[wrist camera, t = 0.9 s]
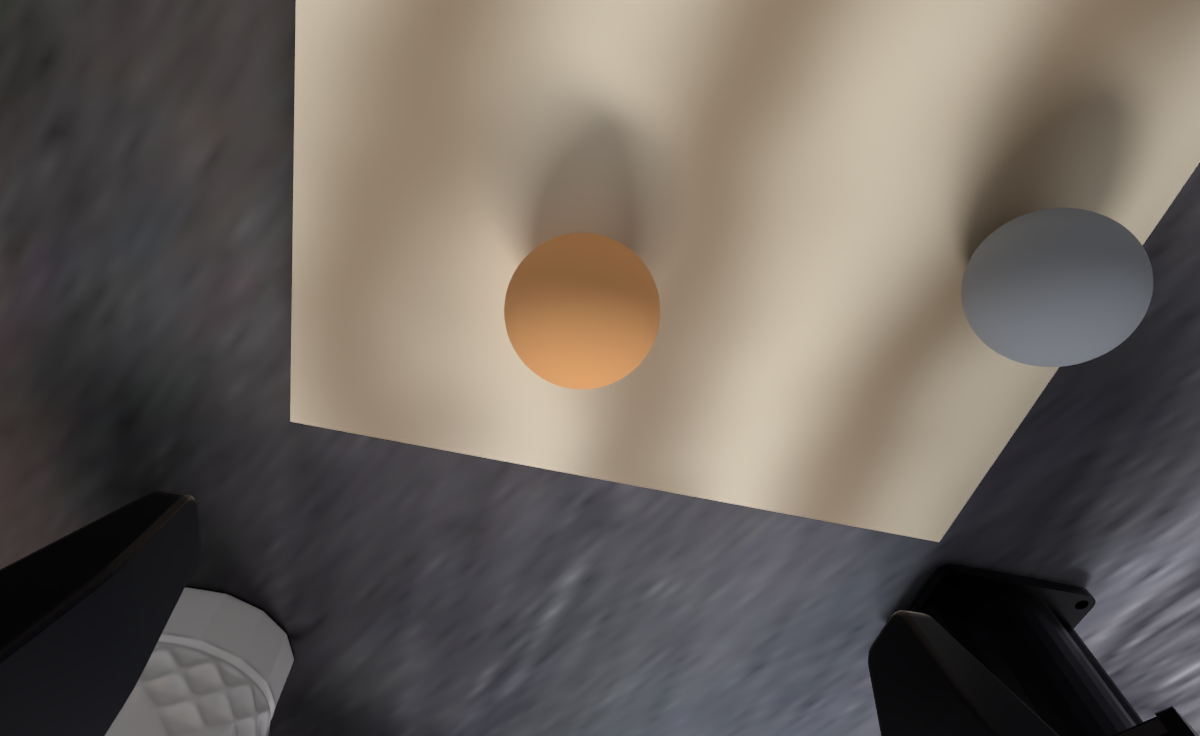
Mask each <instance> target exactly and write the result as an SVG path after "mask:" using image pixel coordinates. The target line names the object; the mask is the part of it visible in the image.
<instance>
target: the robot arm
mask: <svg viewBox="0 0 1200 736" xmlns="http://www.w3.org/2000/svg"><path fill="white" fill-rule="evenodd" d="M200 549H201V539H200V528H199V518H198V508H197V502H196V500H195V498H194V497H193V496H191V495H188V494H182V493H176V492H170V491H164V490H157V491H153V492H151V493H148V494H146V495H144V496H142V497H140V498H139V499H137V500H135V501H133V502H131V503H129V504H127V505H125V506H123V507H121V508H119V509H117V510H115V511H113V512H111V513H109V514H107V515H105V516H104V517H102V518H100V519H98V520H96V521H94V522H92V523H90V524H88V525H86V526H84V527H82V528H80V529H78V530H76V531H74V532H72V533H70V534H69V535H67V536H65V537H63V538H61V539H59V540H57V541H55V542H53V543H51V544H49V545H47V546H45V547H43V548H41V549H39V550H37V551H35V552H34V553H32V554H30V555H28V556H26V557H24V558H22V559H20V560H18V561H16V562H14V563H12V564H10V565H8V566H6V567H4V568H2V569H1V570H0V736H105V735H106V733H107V731H108V730H109V728H110V727H111V725H112V723H113V722H114V720H115V719H116V717H117V716H118V714H119V712H120V711H121V709H122V708H123V706H124V704H125V703H126V701H127V699H128V698H129V696H130V694H131V693H132V691H133V689H134V688H135V686H136V684H137V682H138V680H139V678H140V676H141V674H142V672H143V670H144V669H145V667H146V665H147V663H148V661H149V659H150V657H151V655H152V653H153V651H154V649H155V647H156V644H157V642H158V640H159V638H160V636H161V634H162V632H163V630H164V628H165V626H166V624H167V622H168V620H169V618H170V616H171V614H172V612H173V610H174V608H175V606H176V604H177V602H178V600H179V598H180V596H181V594H182V592H183V590H184V588H185V586H186V584H187V582H188V580H189V578H190V576H191V574H192V572H193V570H194V568H195V566H196V563H197V561H198V558H199V554H200ZM1094 605H1095V599H1094V598H1093V597H1092V595H1091V594H1090V593H1089V592H1088V591H1087V589H1084V588H1081V587H1075V586H1070V585H1064V584H1059V583H1053V582H1048V581H1042V580H1037V579H1031V578H1026V577H1020V576H1015V575H1009V574H1004V573H998V572H993V571H987V570H982V569H976V568H971V567H965V566H960V565H954V564H948V565H944V566H942V567H940V568H938V569H937V570H936V571H935V573H934V574H933V575H932V577H931V578H930V580H929V581H928V583H927V584H926V585H925V587H924V588H923V590H922V591H921V593H920V594H919V595H918V597H917V598H916V600H915V601H914V603H913V604H912V605H911V607H910V608H909V610H908V611H905V610H899V611H897V612H895V613H893V615H892V616H891V617H890V619H889V620H888V622H887V623H886V625H885V626H884V628H883V629H882V631H881V632H880V634H879V635H878V637H877V638H876V640H875V641H874V643H873V644H872V646H871V648H870V651H869V657H868V665H869V672H870V677H871V682H872V688H873V693H874V699H875V704H876V710H877V715H878V720H879V726H880V731H881V736H1199V735H1198V734H1197V733H1196V732H1195V731H1194V729H1193V728H1192V727H1191V726H1190V725H1189V724H1188V723H1187V722H1186V721H1185V719H1184V718H1183V717H1182V716H1181V715H1180V714H1179V713H1178V712H1177V711H1176V710H1175V708H1174V707H1173V706H1171V707H1168V708H1166V709H1164V710H1161V711H1159V712H1157V713H1155V714H1156V716H1157V717H1154V718H1152V719H1150V720H1147V721H1145V722H1143V721H1142V720H1141V718H1140V717H1139V716H1138V714H1137V713H1136V712H1135V710H1134V709H1133V708H1132V706H1131V705H1130V704H1129V702H1128V701H1127V700H1126V698H1125V697H1124V696H1123V694H1122V693H1121V692H1120V690H1119V689H1118V688H1117V686H1116V685H1115V684H1114V682H1113V681H1112V680H1111V678H1110V677H1109V676H1108V674H1107V673H1106V672H1105V670H1104V669H1103V668H1102V666H1101V665H1100V664H1099V662H1098V661H1097V660H1096V658H1095V657H1094V656H1093V654H1092V653H1091V652H1090V650H1089V649H1088V648H1087V646H1086V645H1085V644H1084V642H1083V641H1082V640H1081V638H1080V637H1079V636H1078V634H1077V633H1076V632H1075V630H1074V628H1075V626H1076V625H1077V624H1078V623H1079V622H1080V621H1081V620H1082V619H1083V618H1084V616H1085V615H1086V614H1087V613H1088V612H1089V611H1090V610H1091V609H1092V608H1093V606H1094Z"/></svg>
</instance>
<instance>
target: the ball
mask: <svg viewBox="0 0 1200 736" xmlns="http://www.w3.org/2000/svg"><path fill="white" fill-rule="evenodd" d="M504 319H505V324H506V330H507V334H508V337H509V340H510V342H511V344H512V346H513V348H514V350H515V352H516V353H517V355H518V356H519V358H520V359H521V360H522V361H523V363H524V364H525V365H526V366H527V367H528V368H529V369H531V370H532V371H533V372H534V373H535V374H537V375H538V376H540V377H541V378H542V379H544V380H546V381H548V382H550V383H553V384H555V385H558V386H561V387H565V388H571V389H595V388H600V387H604V386H607V385H610V384H612V383H614V382H617V381H619V380H620V379H622V378H624V377H625V376H627V375H628V374H629V373H631V372H632V371H633V370H635V369H636V368H637V367H638V366H639V365H640V364H641V362H642V361H643V360H644V358H645V357H646V356H647V354H648V353H649V351H650V349H651V347H652V346H653V343H654V341H655V338H656V336H657V332H658V328H659V324H660V299H659V294H658V290H657V287H656V284H655V281H654V279H653V277H652V275H651V273H650V271H649V269H648V268H647V267H646V265H645V264H644V262H643V261H642V260H641V259H640V258H639V257H638V256H637V255H636V254H635V253H634V252H633V251H632V250H630V249H629V248H628V247H627V246H625V245H623V244H622V243H620V242H618V241H616V240H614V239H612V238H609V237H606V236H603V235H599V234H593V233H570V234H566V235H561V236H558V237H555V238H552V239H550V240H548V241H546V242H544V243H542V244H541V245H539V246H538V247H536V248H535V249H534V250H533V251H532V252H530V253H529V254H528V255H527V256H526V257H525V258H524V259H523V260H522V262H521V263H520V264H519V265H518V267H517V269H516V270H515V272H514V274H513V276H512V278H511V280H510V283H509V285H508V288H507V292H506V296H505V305H504Z"/></svg>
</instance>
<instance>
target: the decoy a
mask: <svg viewBox="0 0 1200 736" xmlns="http://www.w3.org/2000/svg"><path fill="white" fill-rule="evenodd" d="M1152 293H1153V270H1152V267H1151V263H1150V260H1149V257H1148V255H1147V253H1146V251H1145V249H1144V247H1143V246H1142V244H1141V243H1140V242H1139V240H1138V239H1137V238H1136V237H1135V236H1134V235H1133V234H1132V233H1131V232H1130V231H1129V230H1128V229H1127V228H1125V227H1124V226H1123V225H1121V224H1120V223H1118V222H1116V221H1114V220H1113V219H1111V218H1109V217H1107V216H1104V215H1102V214H1099V213H1096V212H1093V211H1089V210H1083V209H1077V208H1052V209H1044V210H1039V211H1035V212H1031V213H1028V214H1025V215H1022V216H1019V217H1017V218H1015V219H1013V220H1011V221H1009V222H1007V223H1005V224H1004V225H1002V226H1001V227H999V228H998V229H996V230H995V231H994V232H992V233H991V234H990V235H989V236H988V237H987V238H986V239H985V240H984V241H983V242H982V243H981V244H980V245H979V246H978V248H977V249H976V250H975V252H974V253H973V255H972V257H971V258H970V260H969V262H968V264H967V267H966V269H965V272H964V275H963V280H962V288H961V299H962V305H963V309H964V313H965V316H966V319H967V321H968V323H969V325H970V326H971V328H972V330H973V331H974V332H975V334H976V335H977V336H978V337H979V338H980V339H981V340H982V341H983V342H984V343H985V344H986V345H987V346H988V347H990V348H991V349H992V350H994V351H995V352H997V353H998V354H1000V355H1002V356H1004V357H1006V358H1008V359H1011V360H1013V361H1016V362H1020V363H1023V364H1027V365H1032V366H1040V367H1061V366H1070V365H1075V364H1079V363H1083V362H1086V361H1089V360H1092V359H1094V358H1097V357H1099V356H1101V355H1103V354H1106V353H1107V352H1109V351H1111V350H1112V349H1114V348H1115V347H1117V346H1118V345H1120V344H1121V343H1122V342H1123V341H1124V340H1126V339H1127V338H1128V337H1129V336H1130V335H1131V334H1132V333H1133V332H1134V330H1135V329H1136V328H1137V327H1138V325H1139V324H1140V323H1141V321H1142V319H1143V318H1144V316H1145V314H1146V312H1147V310H1148V307H1149V304H1150V301H1151V298H1152Z"/></svg>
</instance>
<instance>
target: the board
mask: <svg viewBox="0 0 1200 736" xmlns="http://www.w3.org/2000/svg"><path fill="white" fill-rule="evenodd" d="M1199 163H1200V0H296V25H295V100H294V176H293V251H292V327H291V402H290V422H296V423H301V424H306V425H312V426H317V427H322V428H328V429H333V430H339V431H344V432H349V433H355V434H360V435H365V436H371V437H376V438H382V439H387V440H392V441H398V442H403V443H408V444H414V445H419V446H425V447H430V448H435V449H441V450H446V451H451V452H457V453H462V454H468V455H473V456H478V457H484V458H489V459H494V460H500V461H505V462H511V463H516V464H521V465H527V466H532V467H537V468H543V469H548V470H553V471H559V472H564V473H570V474H575V475H580V476H586V477H591V478H596V479H602V480H607V481H613V482H618V483H623V484H629V485H634V486H639V487H645V488H650V489H656V490H661V491H666V492H672V493H677V494H682V495H688V496H693V497H699V498H704V499H709V500H715V501H720V502H725V503H731V504H736V505H742V506H747V507H752V508H758V509H763V510H768V511H774V512H779V513H785V514H790V515H795V516H801V517H806V518H811V519H817V520H822V521H828V522H833V523H838V524H844V525H849V526H854V527H860V528H865V529H871V530H876V531H881V532H887V533H892V534H897V535H903V536H908V537H914V538H919V539H924V540H930V541H935V542H940V540H941V539H942V538H943V536H944V535H945V533H946V532H947V530H948V529H949V527H950V526H951V524H952V523H953V521H954V520H955V519H956V517H957V516H958V514H959V513H960V511H961V510H962V508H963V507H964V505H965V504H966V503H967V501H968V500H969V498H970V497H971V495H972V494H973V492H974V491H975V489H976V488H977V486H978V485H979V484H980V482H981V481H982V479H983V478H984V476H985V475H986V473H987V472H988V470H989V469H990V468H991V466H992V465H993V463H994V462H995V460H996V459H997V457H998V456H999V454H1000V453H1001V451H1002V450H1003V449H1004V447H1005V446H1006V444H1007V443H1008V441H1009V440H1010V438H1011V437H1012V435H1013V434H1014V432H1015V431H1016V430H1017V428H1018V427H1019V425H1020V424H1021V422H1022V421H1023V419H1024V418H1025V416H1026V415H1027V414H1028V412H1029V411H1030V409H1031V408H1032V406H1033V405H1034V403H1035V402H1036V400H1037V399H1038V397H1039V396H1040V395H1041V393H1042V392H1043V390H1044V389H1045V387H1046V386H1047V384H1048V383H1049V381H1050V380H1051V379H1052V377H1053V376H1054V374H1055V373H1056V371H1057V370H1058V368H1059V367H1040V366H1032V365H1027V364H1023V363H1020V362H1016V361H1013V360H1011V359H1008V358H1006V357H1004V356H1002V355H1000V354H998V353H997V352H995V351H994V350H992V349H991V348H990V347H988V346H987V345H986V344H985V343H984V342H983V341H982V340H981V339H980V338H979V337H978V336H977V335H976V334H975V332H974V331H973V330H972V328H971V326H970V325H969V323H968V321H967V319H966V316H965V313H964V309H963V305H962V299H961V288H962V280H963V275H964V272H965V269H966V267H967V264H968V262H969V260H970V258H971V257H972V255H973V253H974V252H975V250H976V249H977V248H978V246H979V245H980V244H981V243H982V242H983V241H984V240H985V239H986V238H987V237H988V236H989V235H990V234H991V233H992V232H994V231H995V230H996V229H998V228H999V227H1001V226H1002V225H1004V224H1005V223H1007V222H1009V221H1011V220H1013V219H1015V218H1017V217H1019V216H1022V215H1025V214H1028V213H1031V212H1035V211H1039V210H1044V209H1052V208H1077V209H1083V210H1089V211H1093V212H1096V213H1099V214H1102V215H1104V216H1107V217H1109V218H1111V219H1113V220H1114V221H1116V222H1118V223H1120V224H1121V225H1123V226H1124V227H1125V228H1127V229H1128V230H1129V231H1130V232H1131V233H1132V234H1133V235H1134V236H1135V237H1136V238H1137V239H1138V240H1139V242H1140V243H1141V244H1142V246H1143V244H1144V243H1145V241H1146V240H1147V238H1148V237H1149V236H1150V234H1151V233H1152V231H1153V230H1154V228H1155V227H1156V225H1157V224H1158V222H1159V221H1160V219H1161V218H1162V217H1163V215H1164V214H1165V212H1166V211H1167V209H1168V208H1169V206H1170V205H1171V203H1172V202H1173V201H1174V199H1175V198H1176V196H1177V195H1178V193H1179V192H1180V190H1181V189H1182V187H1183V186H1184V184H1185V183H1186V182H1187V180H1188V179H1189V177H1190V176H1191V174H1192V173H1193V171H1194V170H1195V168H1196V167H1197V166H1198V164H1199ZM570 233H593V234H599V235H603V236H606V237H609V238H612V239H614V240H616V241H618V242H620V243H622V244H623V245H625V246H627V247H628V248H629V249H630V250H632V251H633V252H634V253H635V254H636V255H637V256H638V257H639V258H640V259H641V260H642V261H643V262H644V264H645V265H646V267H647V268H648V269H649V271H650V273H651V275H652V277H653V279H654V281H655V284H656V287H657V290H658V294H659V299H660V324H659V328H658V332H657V336H656V338H655V341H654V343H653V346H652V347H651V349H650V351H649V353H648V354H647V356H646V357H645V358H644V360H643V361H642V362H641V364H640V365H639V366H638V367H637V368H636V369H635V370H633V371H632V372H631V373H629V374H628V375H627V376H625V377H624V378H622V379H620V380H619V381H617V382H614V383H612V384H610V385H607V386H604V387H600V388H595V389H571V388H565V387H561V386H558V385H555V384H553V383H550V382H548V381H546V380H544V379H542V378H541V377H540V376H538V375H537V374H535V373H534V372H533V371H532V370H531V369H529V368H528V367H527V366H526V365H525V364H524V363H523V361H522V360H521V359H520V358H519V356H518V355H517V353H516V352H515V350H514V348H513V346H512V344H511V342H510V340H509V337H508V334H507V330H506V324H505V319H504V305H505V296H506V292H507V288H508V285H509V283H510V280H511V278H512V276H513V274H514V272H515V270H516V269H517V267H518V265H519V264H520V263H521V262H522V260H523V259H524V258H525V257H526V256H527V255H528V254H529V253H530V252H532V251H533V250H534V249H535V248H536V247H538V246H539V245H541V244H542V243H544V242H546V241H548V240H550V239H552V238H555V237H558V236H561V235H566V234H570Z"/></svg>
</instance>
